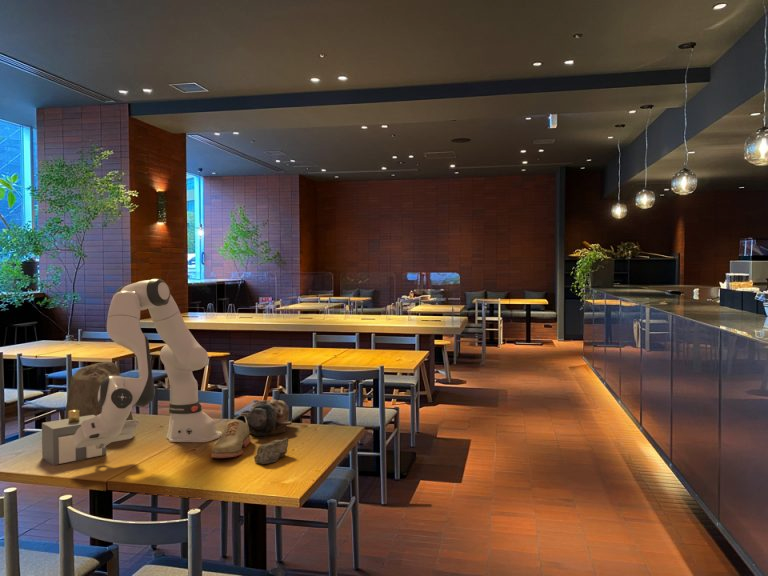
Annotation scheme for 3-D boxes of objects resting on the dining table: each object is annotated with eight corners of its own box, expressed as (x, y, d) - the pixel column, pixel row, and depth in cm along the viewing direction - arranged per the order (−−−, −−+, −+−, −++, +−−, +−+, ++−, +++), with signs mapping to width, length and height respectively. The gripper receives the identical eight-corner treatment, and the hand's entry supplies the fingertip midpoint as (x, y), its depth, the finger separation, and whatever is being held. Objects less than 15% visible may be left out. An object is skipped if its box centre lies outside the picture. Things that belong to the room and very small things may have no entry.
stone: (89, 422, 276) (88, 357, 275) (157, 425, 269) (157, 359, 269) (49, 436, 251) (48, 365, 251) (123, 440, 245) (122, 367, 244)
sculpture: (292, 439, 245) (292, 405, 245) (239, 442, 241) (239, 407, 241) (289, 424, 270) (289, 393, 270) (241, 426, 266) (240, 395, 265)
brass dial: (81, 420, 224) (81, 410, 223) (74, 423, 220) (74, 412, 220) (73, 420, 224) (73, 409, 224) (66, 422, 221) (66, 411, 221)
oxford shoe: (204, 465, 212) (204, 432, 212) (224, 440, 243) (224, 412, 243) (236, 464, 212) (236, 431, 212) (252, 440, 244) (251, 411, 244)
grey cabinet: (106, 454, 224) (105, 420, 224) (53, 465, 212) (52, 429, 211) (93, 447, 233) (93, 414, 233) (42, 457, 221) (41, 422, 221)
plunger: (102, 455, 222) (101, 429, 222) (86, 458, 219) (86, 432, 219) (90, 448, 231) (89, 424, 231) (75, 451, 228) (74, 426, 227)
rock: (267, 439, 227) (291, 434, 225) (272, 457, 227) (295, 452, 224) (245, 451, 211) (270, 445, 208) (250, 470, 210) (275, 464, 208)
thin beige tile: (75, 460, 216) (75, 434, 216) (59, 463, 212) (59, 437, 212) (64, 453, 225) (64, 428, 225) (48, 456, 221) (48, 431, 221)
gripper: (137, 412, 217) (126, 434, 224) (76, 421, 203) (67, 444, 210) (142, 426, 214) (131, 448, 221) (81, 437, 200) (72, 460, 207)
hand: (100, 446), depth 216 cm, fingers closed
